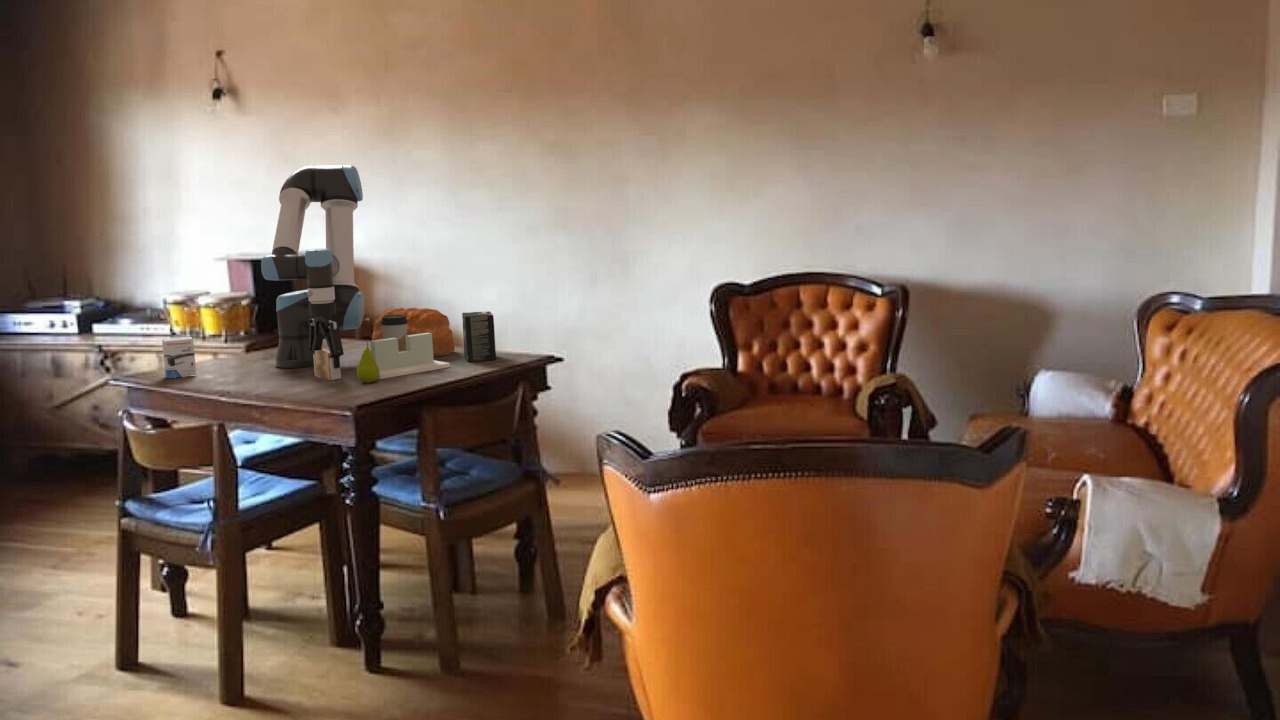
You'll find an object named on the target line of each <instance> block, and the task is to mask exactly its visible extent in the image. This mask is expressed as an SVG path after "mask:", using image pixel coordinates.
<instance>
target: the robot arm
mask: <svg viewBox="0 0 1280 720" xmlns="http://www.w3.org/2000/svg"><path fill="white" fill-rule="evenodd" d="M363 197H364V194H363V189H362V183H361V177H360V174H359V171H358V169H357V167H356V166H354V165H351V164H349V165H347V164H346V165H345V164H334V165H308V166H307V165H306V166H303V167H301V168H298V169H297V170H296V171H294V172H292V173H291V174H290V175H289V176H288V177H287V179H285V182H283V184H282V186H281V188H280V191H279V196H278V201H279V203H280V209H279V214H278V219H277V225H276V229H275V235H274V239H273V244H272V250H271V254H267V255H263V257H262V258H261V261H260V265H261V266H260V268H261V270H260V271H261V274H262V277H263V279H264V280H266V281H292V280H306V283H307V285H306V286H307V289H303V290H296V291H291V292H286V293H284V294H280V295H278V296H277V298H276V301H275V302H276V309H275V312H276V317H277V318H276V319H277V329H278V346H277V350H276V355H275V357H274V361H275V363H274V364H275V367H277V368H284V369H285V368H287V369H288V368H289V369H291V368H292V369H296V368H307V367H308V368H309V367H314V377H315V376H316V377H317V373H316V361H315V350H322V349H323V343H324V338H325V342H326V344H327V347H328V350H329V351H330V354H331V356H329V358H330V367H331V379H332V380H331V381H334V380H339V379H340V380H341V378H342V375H341V374H342V373H341V361H340V357H341V356H343V355H344V354H345V353H344V347H343V343H342V337H341V333H340V331H342V330H343V331H348V330H354V329H355V330H356V329H358V328H360V327H361V325H362V323H363V320H364V315H365V307H366V306H365V303H366V302H365V295H364V293H363V292H361V291H360V287H359V286H358V285H357V284H356V283H355V269H354V268H355V267H354V266H355V265H354V263H355V260H354V258H355V257H354V256H355V255H354V250H355V249H354V211H355V210H357V208H358V206H359V205H358V204H359V203H358V202H362V201H363ZM312 203H320V207H321V209H323V210H324V211H325V248H313V249H312V248H310V249H307V250H306V251H305V252H304V253H299V251H300V245H301V239H302V233H303V227H304V221H305V215H306V210H308V208H309V207H310V206H311V204H312Z"/></svg>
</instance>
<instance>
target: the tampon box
mask: <svg viewBox="0 0 1280 720" xmlns="http://www.w3.org/2000/svg"><path fill="white" fill-rule="evenodd" d="M461 314H462V315H461V317H462V318H461V319H462V335H463V336H462V337H463V356H464V358H465V360H466V361H467V362H468V363H469V362H470V363H471V362H484V361H485V362H487V361H497V355H496V354H497V353H496V352H497V351H496V336H495V321H494V320H495V319H494V314H493V313H492V312H491V311H472V312H462V313H461Z"/></svg>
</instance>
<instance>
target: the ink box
mask: <svg viewBox="0 0 1280 720" xmlns="http://www.w3.org/2000/svg"><path fill="white" fill-rule="evenodd" d="M161 340H162V341H161V342H162V343H161V344H162V353H163V363H164V374H165V378H166V379H167V378H173V379H176V378H175V377H183V378H185V377H184V376H191V375H196V376H197V367H196V366H197V365H196V356H195V346H194V345H195V344H194V339H193V337H192V336H181V337H168V338H167V337H166V338H162V339H161Z"/></svg>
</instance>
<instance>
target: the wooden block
mask: <svg viewBox="0 0 1280 720" xmlns="http://www.w3.org/2000/svg"><path fill="white" fill-rule="evenodd" d="M329 356H331V354H330V351H329V349H324V348H322V350H315V361H316V373H317V376H316V378H319V379H324V380H328V381H333V380H332V379H331V367H330V358H329Z"/></svg>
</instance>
